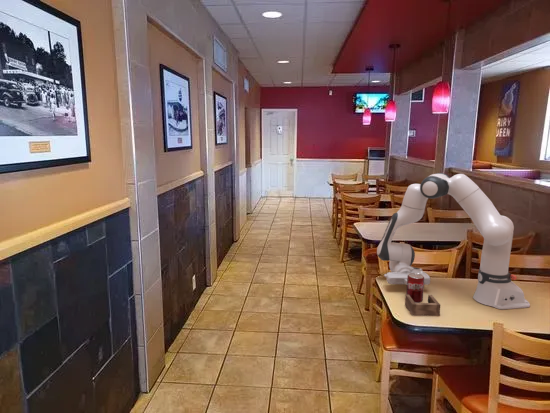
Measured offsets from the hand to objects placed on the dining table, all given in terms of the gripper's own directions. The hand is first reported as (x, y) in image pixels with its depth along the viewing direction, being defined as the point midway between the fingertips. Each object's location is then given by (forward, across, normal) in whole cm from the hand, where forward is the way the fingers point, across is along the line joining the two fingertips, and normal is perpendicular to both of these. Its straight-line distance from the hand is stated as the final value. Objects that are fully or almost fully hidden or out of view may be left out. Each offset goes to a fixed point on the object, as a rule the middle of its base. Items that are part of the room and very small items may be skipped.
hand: (412, 284), depth 179 cm
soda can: (+4, 0, +6) cm, 7 cm away
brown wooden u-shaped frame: (+14, 0, +6) cm, 15 cm away
